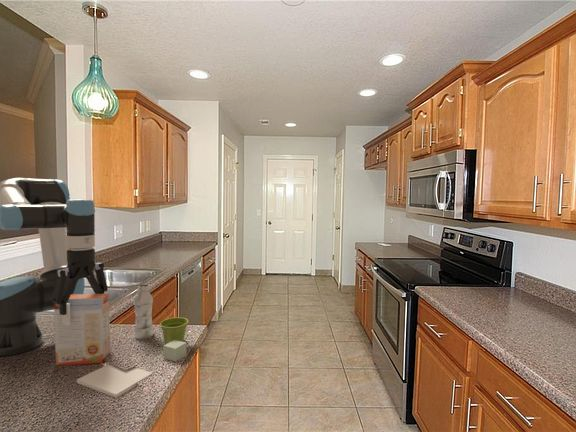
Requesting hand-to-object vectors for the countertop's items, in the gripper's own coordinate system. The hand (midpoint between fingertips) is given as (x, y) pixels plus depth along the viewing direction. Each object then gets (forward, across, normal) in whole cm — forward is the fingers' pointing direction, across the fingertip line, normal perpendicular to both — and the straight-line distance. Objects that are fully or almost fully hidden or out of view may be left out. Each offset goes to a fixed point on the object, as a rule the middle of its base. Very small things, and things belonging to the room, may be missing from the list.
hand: (81, 319), depth 106 cm
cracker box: (+14, 0, 0) cm, 14 cm away
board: (+13, -3, -20) cm, 24 cm away
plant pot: (+13, +21, -18) cm, 31 cm away
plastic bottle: (+14, +20, -4) cm, 25 cm away
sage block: (+13, +14, -26) cm, 32 cm away
